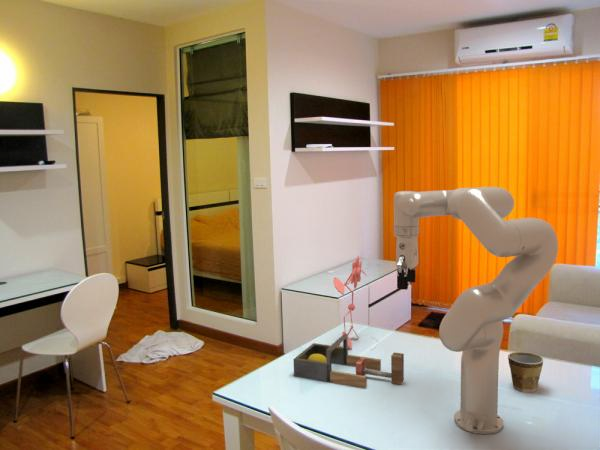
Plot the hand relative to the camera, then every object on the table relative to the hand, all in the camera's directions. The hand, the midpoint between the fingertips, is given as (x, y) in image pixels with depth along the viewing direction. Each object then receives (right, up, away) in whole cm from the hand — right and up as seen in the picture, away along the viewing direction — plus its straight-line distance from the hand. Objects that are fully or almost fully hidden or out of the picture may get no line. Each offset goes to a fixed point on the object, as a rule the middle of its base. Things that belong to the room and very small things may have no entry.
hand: (406, 285), depth 164 cm
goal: (-25, -31, +16) cm, 43 cm away
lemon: (-23, -29, +15) cm, 40 cm away
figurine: (-11, -28, +40) cm, 50 cm away
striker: (-7, -31, +8) cm, 33 cm away
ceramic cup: (+37, -32, 0) cm, 49 cm away
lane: (-14, -32, +11) cm, 37 cm away
